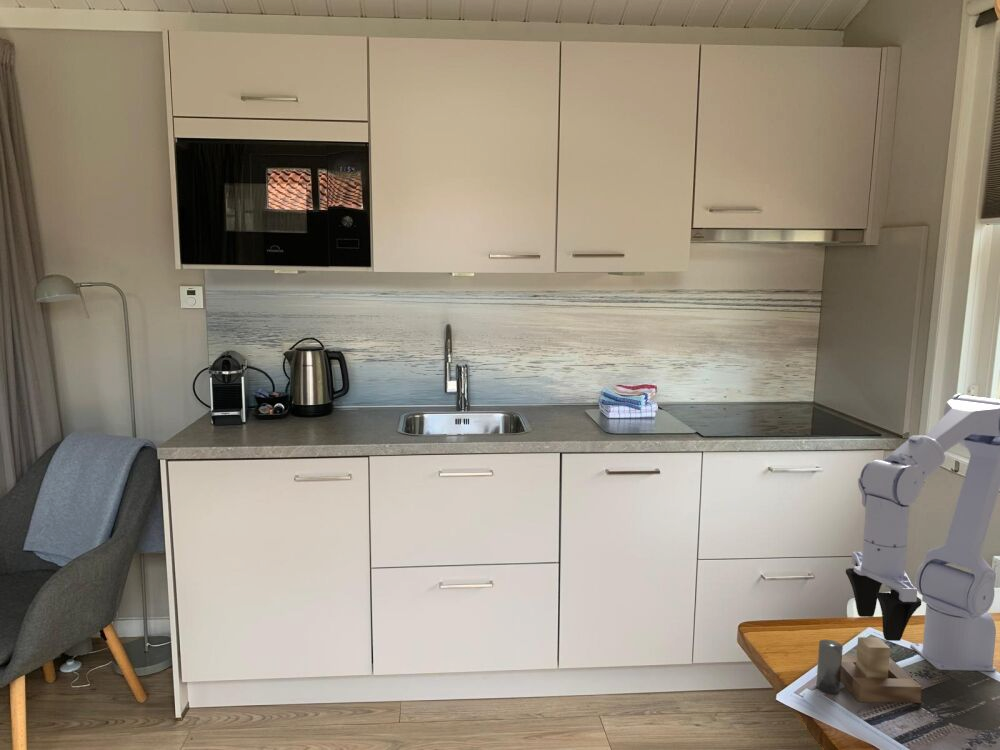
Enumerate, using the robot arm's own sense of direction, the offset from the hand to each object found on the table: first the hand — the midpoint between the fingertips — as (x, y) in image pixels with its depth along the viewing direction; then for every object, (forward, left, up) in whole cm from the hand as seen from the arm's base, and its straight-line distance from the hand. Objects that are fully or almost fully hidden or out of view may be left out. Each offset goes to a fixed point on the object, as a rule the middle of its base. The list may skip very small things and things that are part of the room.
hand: (878, 627), depth 106 cm
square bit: (+1, 0, -9) cm, 9 cm away
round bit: (+8, +1, -9) cm, 12 cm away
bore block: (0, 0, -9) cm, 9 cm away
